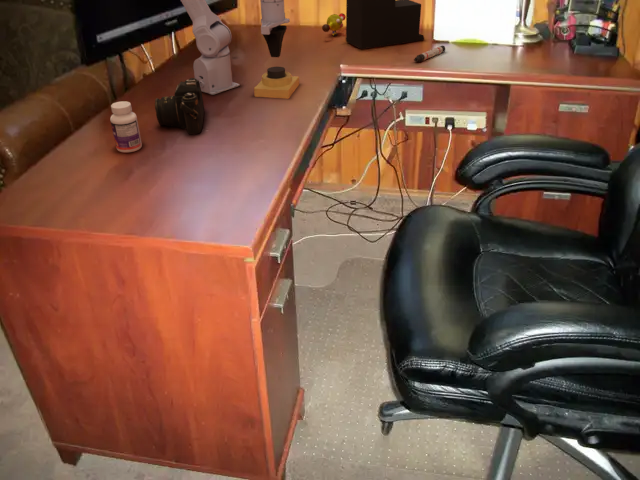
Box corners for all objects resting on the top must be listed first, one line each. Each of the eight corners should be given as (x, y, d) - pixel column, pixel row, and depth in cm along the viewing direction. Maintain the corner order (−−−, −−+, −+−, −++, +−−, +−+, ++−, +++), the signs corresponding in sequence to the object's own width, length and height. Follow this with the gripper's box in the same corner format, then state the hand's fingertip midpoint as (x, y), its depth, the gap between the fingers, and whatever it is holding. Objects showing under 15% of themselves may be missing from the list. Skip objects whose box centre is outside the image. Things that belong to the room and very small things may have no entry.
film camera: (150, 115, 148) (142, 74, 143) (200, 107, 153) (195, 67, 147) (166, 142, 135) (159, 98, 129) (221, 132, 139) (216, 89, 134)
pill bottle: (119, 143, 135) (110, 100, 130) (144, 142, 135) (136, 99, 130) (114, 153, 130) (104, 109, 125) (140, 152, 131) (131, 108, 125)
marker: (439, 51, 189) (440, 44, 188) (445, 52, 188) (445, 45, 187) (411, 63, 180) (411, 56, 179) (416, 64, 179) (417, 57, 178)
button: (282, 80, 158) (282, 72, 157) (265, 79, 159) (264, 71, 158) (287, 74, 162) (287, 66, 160) (270, 73, 162) (270, 66, 161)
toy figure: (333, 42, 200) (333, 21, 196) (317, 41, 202) (317, 20, 198) (351, 29, 214) (351, 9, 210) (336, 28, 216) (336, 8, 212)
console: (288, 98, 157) (287, 83, 155) (254, 96, 158) (253, 81, 156) (299, 84, 166) (298, 69, 164) (267, 82, 167) (266, 68, 165)
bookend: (406, 33, 208) (410, -43, 195) (424, 40, 200) (430, -39, 187) (345, 42, 200) (345, -36, 187) (361, 50, 192) (362, -31, 179)
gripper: (279, 7, 143) (283, 65, 151) (295, -6, 155) (297, 49, 162) (250, 6, 145) (255, 64, 152) (268, -7, 157) (272, 48, 164)
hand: (275, 56), depth 157 cm, fingers closed
